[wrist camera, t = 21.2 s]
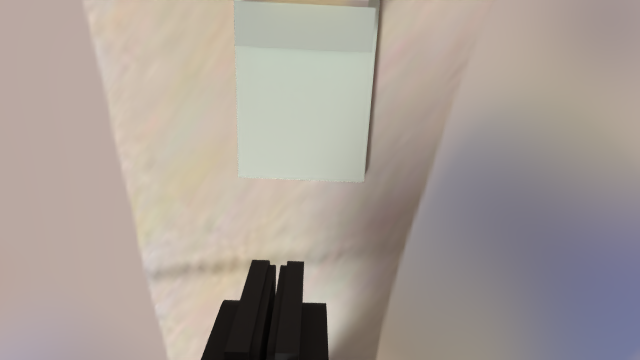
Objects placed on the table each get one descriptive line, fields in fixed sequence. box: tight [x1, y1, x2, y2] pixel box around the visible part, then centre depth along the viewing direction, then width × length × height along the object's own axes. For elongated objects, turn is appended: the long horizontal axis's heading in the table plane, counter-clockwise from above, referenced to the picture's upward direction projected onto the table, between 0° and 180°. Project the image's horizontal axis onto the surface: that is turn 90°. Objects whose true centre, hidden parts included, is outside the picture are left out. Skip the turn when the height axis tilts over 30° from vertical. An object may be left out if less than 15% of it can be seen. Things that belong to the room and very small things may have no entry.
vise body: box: [235, 0, 380, 183], centre depth 31 cm, size 23×12×6 cm, turn 177°
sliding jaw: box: [234, 0, 376, 53], centre depth 29 cm, size 4×10×5 cm, turn 87°
